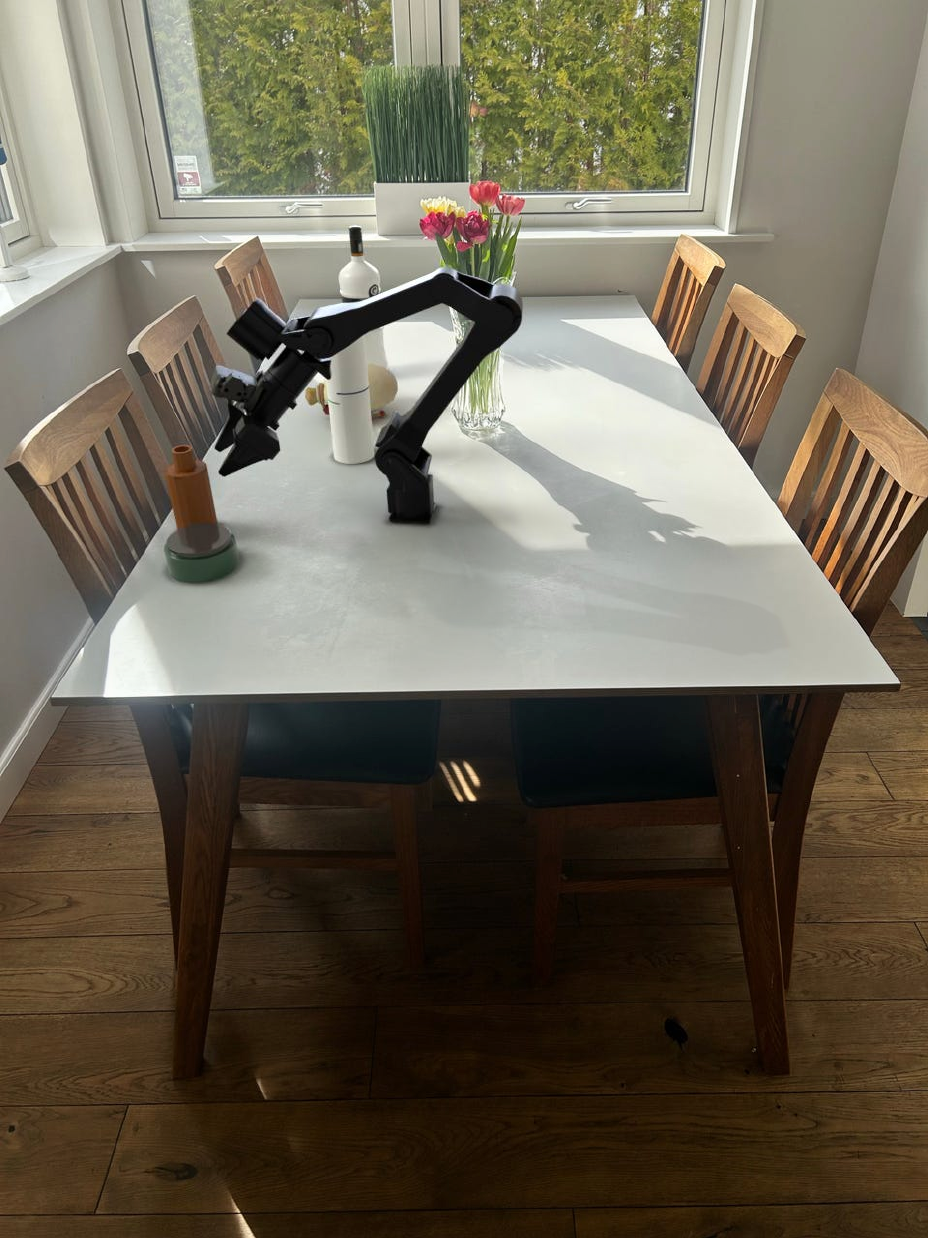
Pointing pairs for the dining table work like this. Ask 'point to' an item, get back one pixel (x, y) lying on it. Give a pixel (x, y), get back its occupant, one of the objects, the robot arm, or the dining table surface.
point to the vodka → (363, 293)
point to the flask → (379, 389)
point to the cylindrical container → (350, 405)
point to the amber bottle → (189, 489)
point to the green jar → (201, 553)
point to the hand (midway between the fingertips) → (218, 462)
